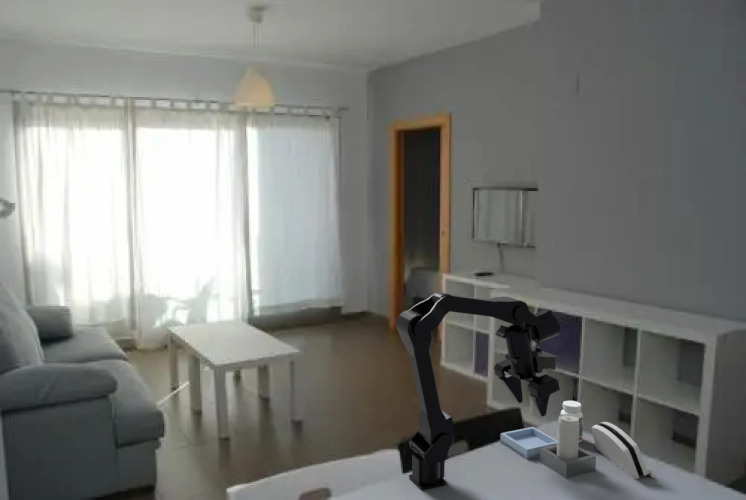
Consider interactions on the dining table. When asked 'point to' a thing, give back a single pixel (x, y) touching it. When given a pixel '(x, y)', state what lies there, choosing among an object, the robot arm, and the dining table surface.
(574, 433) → the beverage can
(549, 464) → the short square tube
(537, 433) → the tray
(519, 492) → the dining table surface
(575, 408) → the pill bottle
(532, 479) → the dining table surface
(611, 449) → the white black arched block
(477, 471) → the dining table surface
